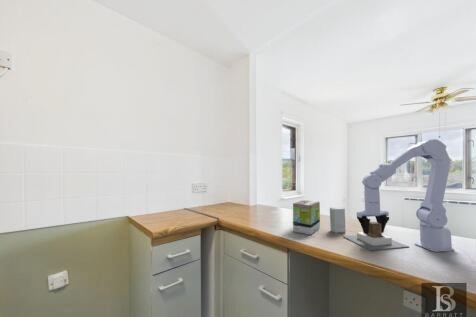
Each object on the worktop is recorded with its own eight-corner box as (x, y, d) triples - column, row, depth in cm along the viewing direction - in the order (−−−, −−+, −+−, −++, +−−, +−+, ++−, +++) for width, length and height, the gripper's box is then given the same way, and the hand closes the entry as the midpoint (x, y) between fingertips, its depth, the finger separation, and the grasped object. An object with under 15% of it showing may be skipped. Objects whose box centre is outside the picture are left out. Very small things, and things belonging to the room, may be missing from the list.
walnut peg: (374, 239, 91) (373, 221, 91) (382, 242, 87) (381, 223, 87) (366, 239, 90) (365, 221, 91) (374, 243, 86) (373, 224, 87)
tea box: (312, 235, 98) (311, 205, 99) (292, 231, 104) (291, 203, 105) (320, 227, 110) (319, 200, 111) (302, 224, 116) (301, 199, 117)
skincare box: (340, 229, 106) (340, 206, 107) (346, 232, 102) (345, 208, 102) (329, 230, 106) (329, 207, 106) (334, 233, 101) (334, 208, 102)
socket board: (376, 234, 98) (375, 228, 98) (409, 247, 83) (408, 240, 83) (343, 237, 95) (343, 230, 95) (370, 250, 80) (370, 243, 80)
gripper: (378, 199, 95) (379, 229, 94) (351, 201, 92) (352, 230, 92) (392, 202, 88) (393, 233, 87) (363, 203, 86) (364, 236, 85)
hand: (373, 232), depth 89 cm, fingers open, 7 cm apart
